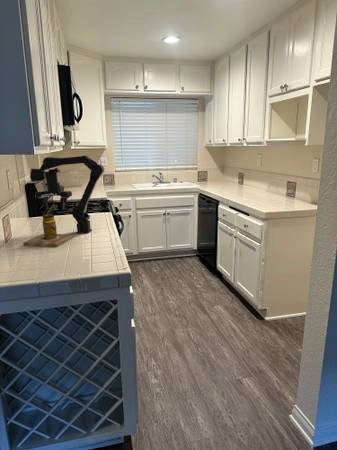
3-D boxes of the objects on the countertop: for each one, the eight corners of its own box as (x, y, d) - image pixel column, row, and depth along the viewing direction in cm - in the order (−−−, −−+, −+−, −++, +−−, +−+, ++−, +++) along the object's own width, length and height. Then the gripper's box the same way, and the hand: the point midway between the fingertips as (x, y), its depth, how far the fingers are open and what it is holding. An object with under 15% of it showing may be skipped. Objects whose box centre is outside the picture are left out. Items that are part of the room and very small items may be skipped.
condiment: (59, 238, 156) (57, 215, 153) (42, 241, 151) (39, 217, 148) (55, 235, 162) (52, 212, 159) (38, 238, 157) (35, 215, 154)
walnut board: (73, 237, 163) (73, 234, 162) (57, 246, 147) (56, 243, 147) (42, 236, 166) (42, 233, 166) (23, 245, 151) (23, 242, 151)
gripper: (75, 179, 172) (78, 207, 176) (44, 179, 175) (47, 206, 179) (65, 181, 161) (68, 211, 165) (32, 181, 164) (36, 210, 168)
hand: (55, 209), depth 169 cm, fingers open, 9 cm apart
